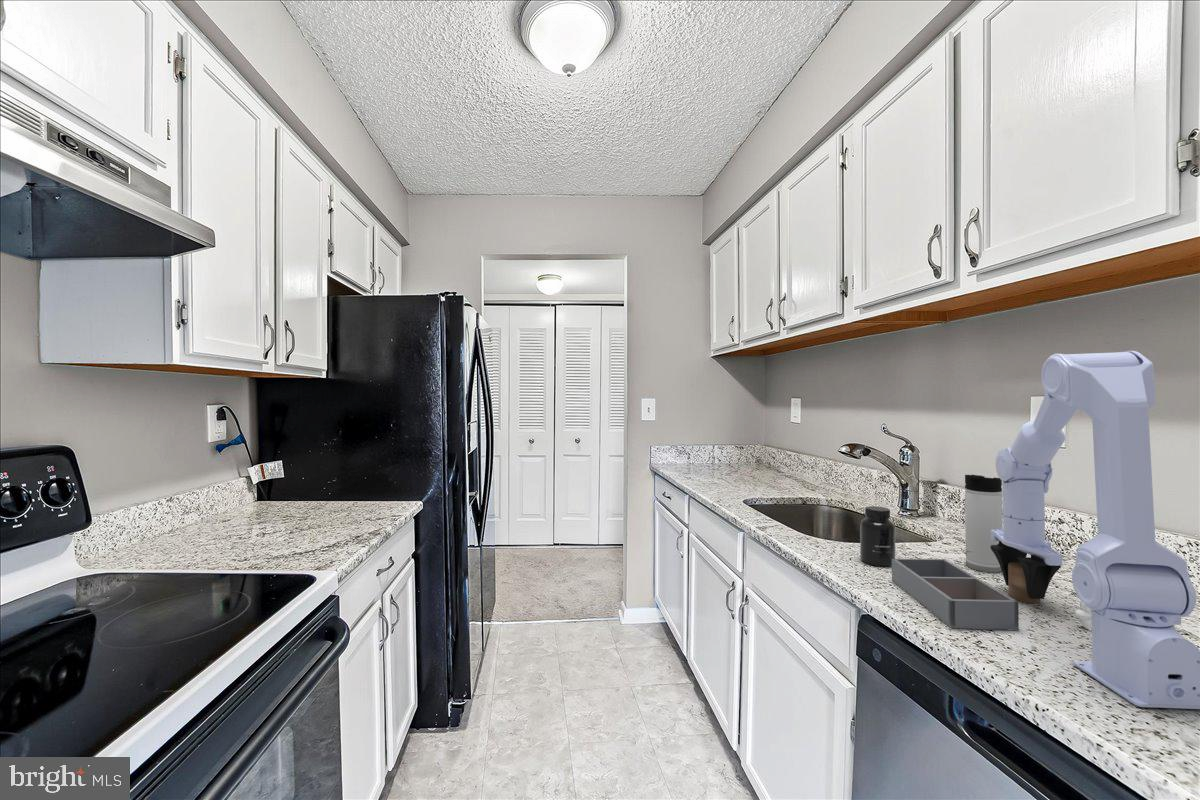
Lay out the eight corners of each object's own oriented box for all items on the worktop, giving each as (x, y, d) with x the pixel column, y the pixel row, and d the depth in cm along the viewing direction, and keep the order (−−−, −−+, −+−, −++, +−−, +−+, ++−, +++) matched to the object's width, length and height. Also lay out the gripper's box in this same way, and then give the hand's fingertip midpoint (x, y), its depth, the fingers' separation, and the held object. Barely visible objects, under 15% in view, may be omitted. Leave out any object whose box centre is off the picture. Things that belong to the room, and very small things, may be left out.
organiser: (1018, 630, 79) (1018, 601, 79) (951, 628, 80) (950, 600, 80) (945, 581, 99) (944, 559, 98) (891, 580, 100) (891, 558, 100)
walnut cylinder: (1047, 605, 87) (1046, 571, 87) (1020, 604, 88) (1019, 570, 88) (1028, 594, 92) (1028, 562, 91) (1002, 594, 92) (1002, 562, 92)
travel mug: (959, 566, 106) (957, 473, 106) (974, 560, 110) (973, 470, 109) (993, 575, 101) (992, 477, 100) (1008, 569, 104) (1007, 474, 104)
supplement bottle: (881, 569, 106) (880, 513, 106) (853, 560, 112) (852, 507, 112) (902, 564, 109) (902, 509, 108) (874, 555, 115) (873, 503, 115)
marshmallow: (1116, 629, 78) (1113, 601, 78) (1121, 633, 77) (1118, 605, 77) (1075, 627, 80) (1072, 599, 80) (1080, 631, 79) (1077, 603, 79)
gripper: (1082, 527, 82) (1083, 609, 82) (1018, 507, 96) (1018, 576, 96) (1035, 527, 82) (1036, 608, 83) (978, 507, 97) (979, 576, 97)
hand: (1024, 591), depth 90 cm, fingers open, 5 cm apart
